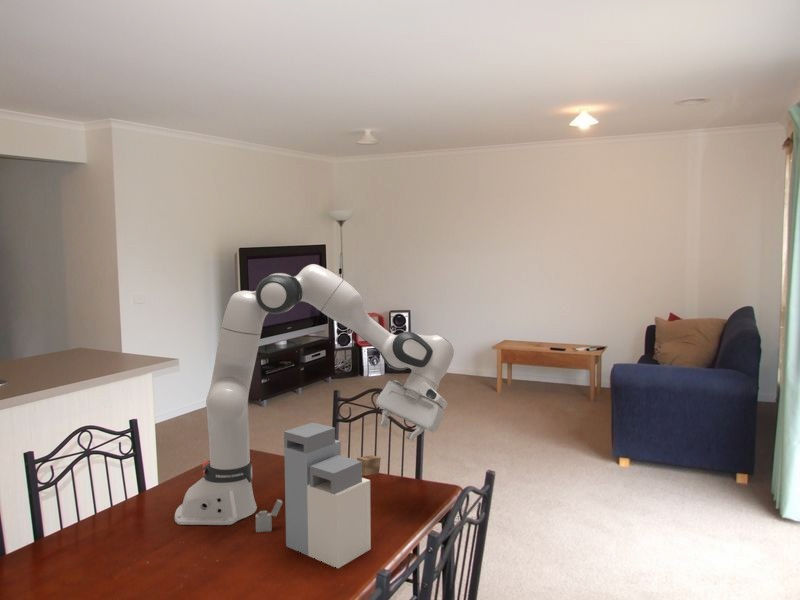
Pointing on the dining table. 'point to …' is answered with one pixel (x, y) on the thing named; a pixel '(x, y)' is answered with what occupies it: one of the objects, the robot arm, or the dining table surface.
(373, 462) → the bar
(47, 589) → the dining table surface
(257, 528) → the lighter
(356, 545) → the stand
